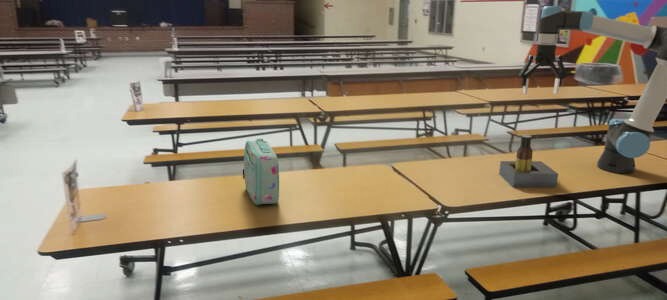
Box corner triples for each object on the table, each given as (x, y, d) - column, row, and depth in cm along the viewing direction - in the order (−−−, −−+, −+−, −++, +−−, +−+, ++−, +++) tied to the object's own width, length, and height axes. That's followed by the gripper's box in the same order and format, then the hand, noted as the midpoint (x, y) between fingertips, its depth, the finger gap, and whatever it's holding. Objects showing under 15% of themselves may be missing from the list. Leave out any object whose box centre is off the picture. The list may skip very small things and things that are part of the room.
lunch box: (241, 185, 192) (239, 135, 186) (266, 182, 196) (264, 132, 189) (254, 211, 168) (252, 154, 162) (282, 207, 172) (281, 151, 165)
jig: (539, 174, 208) (541, 161, 206) (556, 187, 193) (558, 173, 191) (499, 173, 208) (500, 161, 206) (512, 187, 192) (514, 173, 191)
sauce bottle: (527, 178, 203) (533, 134, 197) (531, 183, 197) (538, 138, 191) (511, 177, 203) (517, 133, 197) (515, 182, 197) (521, 137, 191)
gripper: (571, 43, 203) (564, 92, 209) (514, 43, 202) (508, 91, 208) (580, 44, 196) (572, 95, 202) (521, 44, 195) (515, 94, 201)
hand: (540, 93), depth 205 cm, fingers open, 13 cm apart
